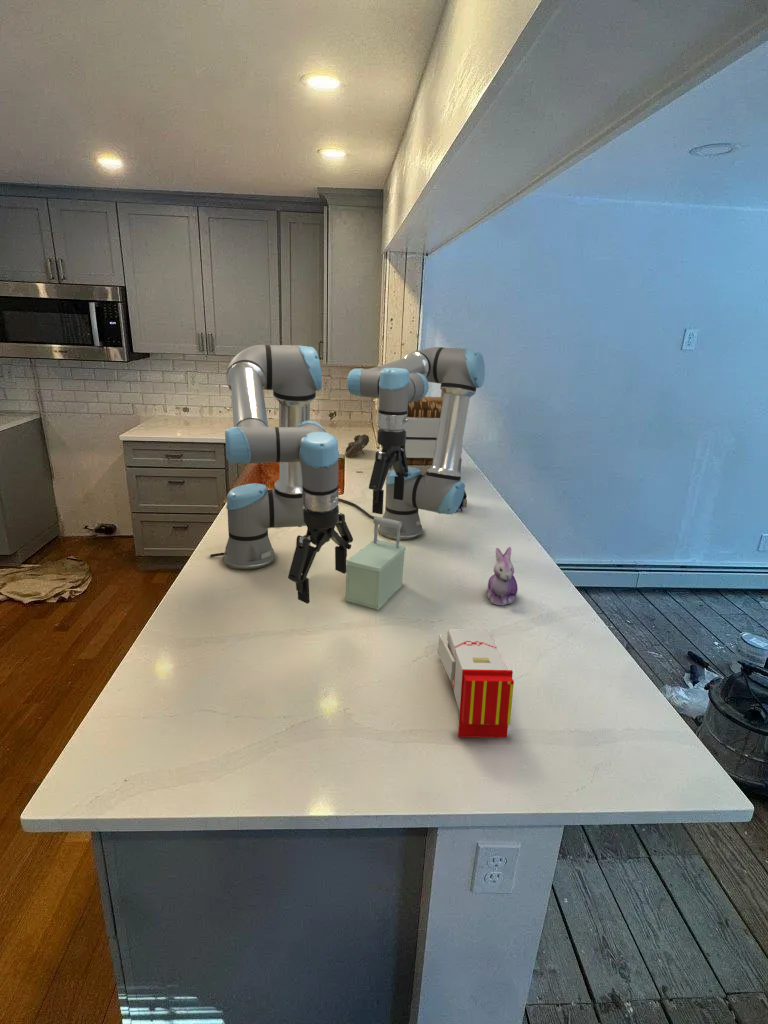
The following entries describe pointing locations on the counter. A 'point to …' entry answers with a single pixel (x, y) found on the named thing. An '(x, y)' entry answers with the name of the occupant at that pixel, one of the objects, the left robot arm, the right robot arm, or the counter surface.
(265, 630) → the counter surface
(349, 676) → the counter surface
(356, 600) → the chest
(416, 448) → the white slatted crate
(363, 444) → the fossil
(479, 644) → the toy
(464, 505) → the figurine character
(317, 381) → the left robot arm
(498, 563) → the figurine
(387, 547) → the lid
